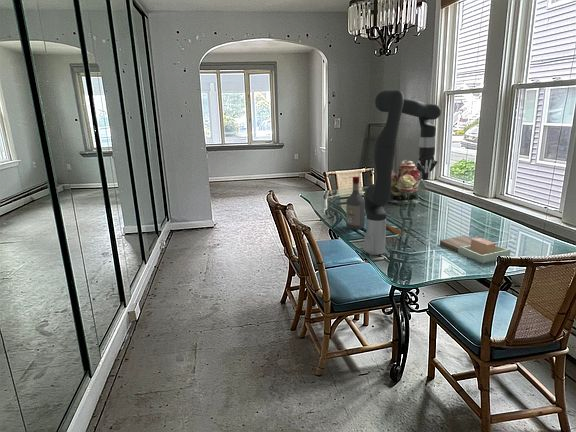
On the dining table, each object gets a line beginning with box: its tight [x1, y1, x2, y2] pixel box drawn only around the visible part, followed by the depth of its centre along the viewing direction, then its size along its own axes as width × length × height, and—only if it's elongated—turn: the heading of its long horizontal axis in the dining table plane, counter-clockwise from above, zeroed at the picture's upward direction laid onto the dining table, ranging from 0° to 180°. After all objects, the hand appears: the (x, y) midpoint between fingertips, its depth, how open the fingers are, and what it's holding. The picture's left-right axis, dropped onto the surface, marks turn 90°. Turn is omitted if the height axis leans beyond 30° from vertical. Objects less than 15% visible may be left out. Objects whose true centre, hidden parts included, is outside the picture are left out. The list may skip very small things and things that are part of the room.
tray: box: [457, 244, 511, 265], centre depth 177 cm, size 16×15×4 cm
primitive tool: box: [386, 223, 404, 235], centre depth 219 cm, size 19×6×4 cm, turn 25°
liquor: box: [345, 176, 366, 231], centre depth 220 cm, size 9×9×30 cm
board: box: [439, 235, 474, 254], centre depth 189 cm, size 16×12×2 cm
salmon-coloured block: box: [470, 237, 497, 255], centre depth 178 cm, size 5×6×9 cm
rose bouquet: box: [388, 159, 422, 206], centre depth 276 cm, size 26×29×30 cm
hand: (424, 179), depth 196 cm, fingers closed
